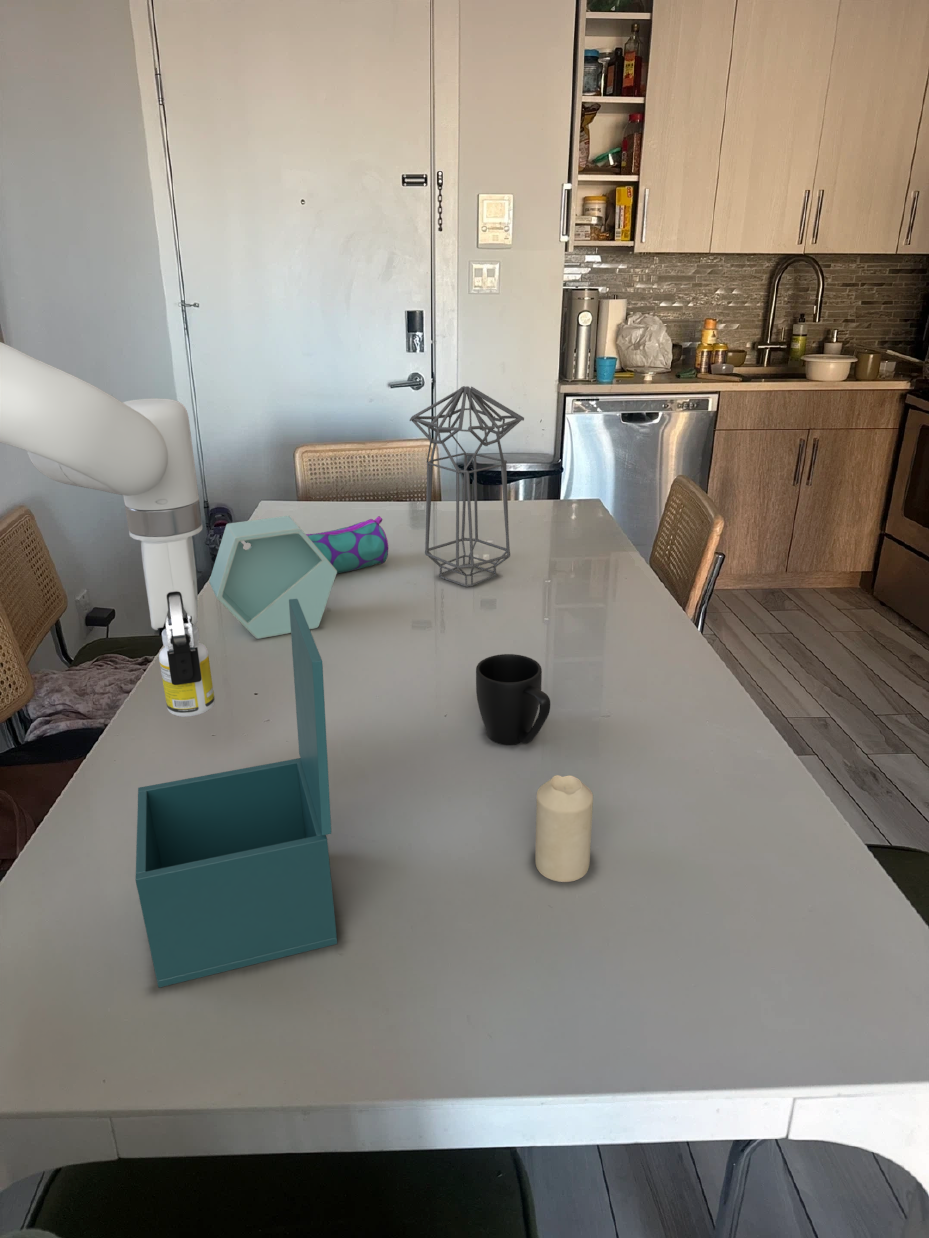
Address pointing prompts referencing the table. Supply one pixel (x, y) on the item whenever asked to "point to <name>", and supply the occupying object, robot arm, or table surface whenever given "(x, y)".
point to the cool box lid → (310, 713)
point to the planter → (271, 575)
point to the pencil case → (353, 545)
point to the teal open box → (232, 871)
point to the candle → (563, 828)
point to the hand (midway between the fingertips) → (185, 669)
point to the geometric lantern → (466, 472)
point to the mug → (511, 698)
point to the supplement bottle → (191, 695)
